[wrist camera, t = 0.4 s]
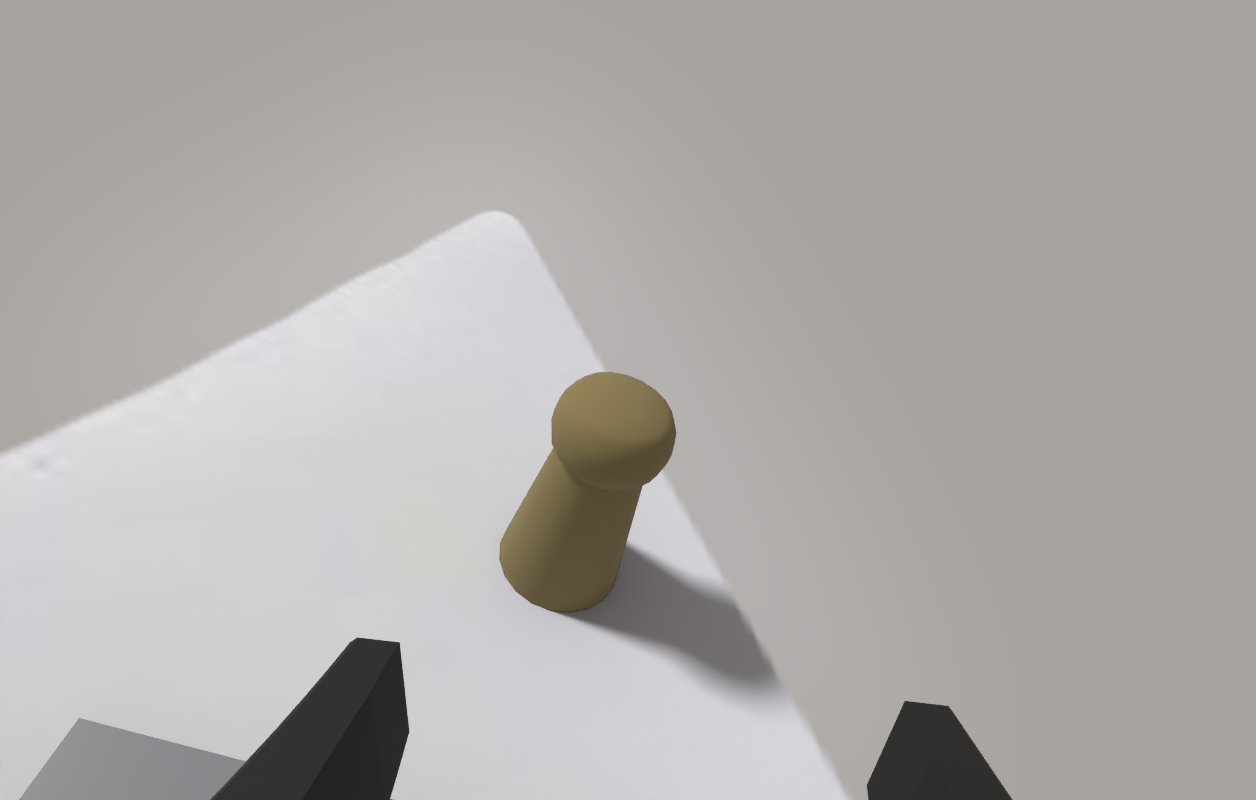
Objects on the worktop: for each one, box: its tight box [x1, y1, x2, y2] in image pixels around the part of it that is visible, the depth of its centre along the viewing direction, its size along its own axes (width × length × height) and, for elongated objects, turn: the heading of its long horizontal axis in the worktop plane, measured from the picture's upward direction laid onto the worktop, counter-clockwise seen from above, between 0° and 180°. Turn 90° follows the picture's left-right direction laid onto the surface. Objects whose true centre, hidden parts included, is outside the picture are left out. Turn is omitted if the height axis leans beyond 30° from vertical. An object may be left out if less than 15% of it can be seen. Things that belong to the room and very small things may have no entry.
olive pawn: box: [499, 372, 676, 612], centre depth 32 cm, size 6×6×11 cm
